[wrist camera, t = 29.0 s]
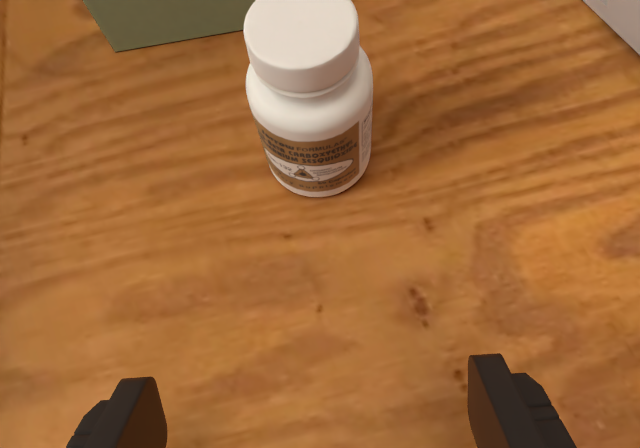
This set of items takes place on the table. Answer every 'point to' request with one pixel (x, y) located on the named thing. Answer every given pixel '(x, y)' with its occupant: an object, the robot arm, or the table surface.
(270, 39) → the pill bottle
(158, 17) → the push button box
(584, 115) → the table surface
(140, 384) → the robot arm
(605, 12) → the ornament
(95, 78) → the table surface
